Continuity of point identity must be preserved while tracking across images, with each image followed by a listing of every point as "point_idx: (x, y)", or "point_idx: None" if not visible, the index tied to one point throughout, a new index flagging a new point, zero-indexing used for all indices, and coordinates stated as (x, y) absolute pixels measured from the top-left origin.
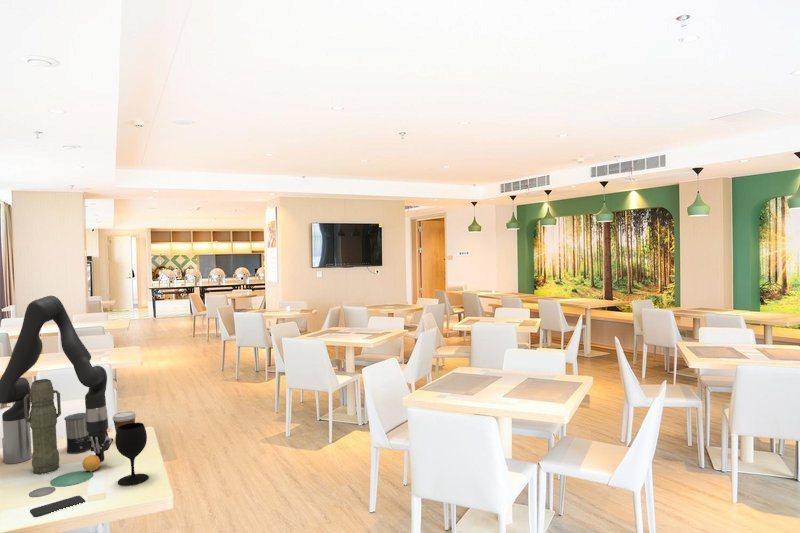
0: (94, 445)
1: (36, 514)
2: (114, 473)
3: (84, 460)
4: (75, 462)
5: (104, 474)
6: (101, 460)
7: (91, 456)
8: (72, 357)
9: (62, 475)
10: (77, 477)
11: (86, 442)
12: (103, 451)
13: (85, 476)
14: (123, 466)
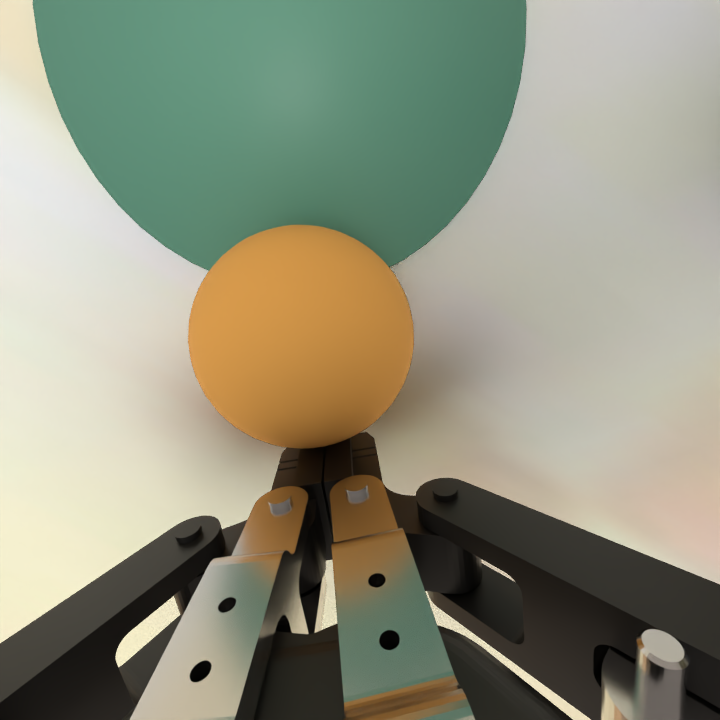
0: (334, 572)
1: None
2: (6, 369)
3: (316, 250)
4: (697, 391)
5: (72, 307)
6: (286, 452)
7: (245, 348)
8: None
9: (491, 50)
10: (244, 92)
11: (667, 587)
12: (176, 538)
13: (184, 159)
14: (125, 514)
